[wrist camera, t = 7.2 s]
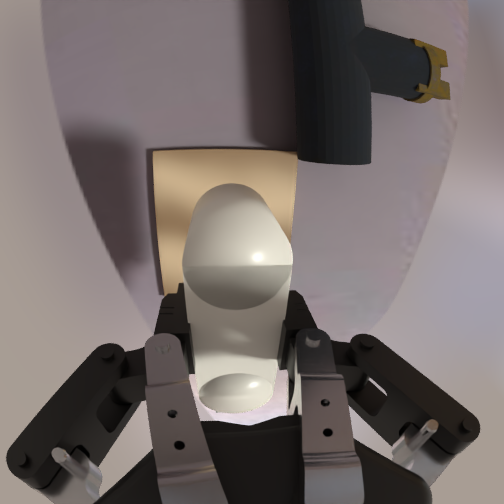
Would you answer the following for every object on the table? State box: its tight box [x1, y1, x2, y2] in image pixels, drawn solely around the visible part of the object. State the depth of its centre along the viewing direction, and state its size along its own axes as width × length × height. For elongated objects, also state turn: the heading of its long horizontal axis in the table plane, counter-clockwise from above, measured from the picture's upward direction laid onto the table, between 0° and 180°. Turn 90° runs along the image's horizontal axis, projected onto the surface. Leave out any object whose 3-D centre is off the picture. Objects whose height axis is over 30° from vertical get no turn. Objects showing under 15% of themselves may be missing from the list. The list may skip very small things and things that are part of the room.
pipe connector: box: [288, 0, 450, 165], centre depth 14 cm, size 12×5×15 cm
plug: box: [182, 183, 293, 413], centre depth 13 cm, size 13×4×4 cm, turn 178°
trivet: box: [153, 149, 298, 296], centre depth 21 cm, size 12×10×1 cm
